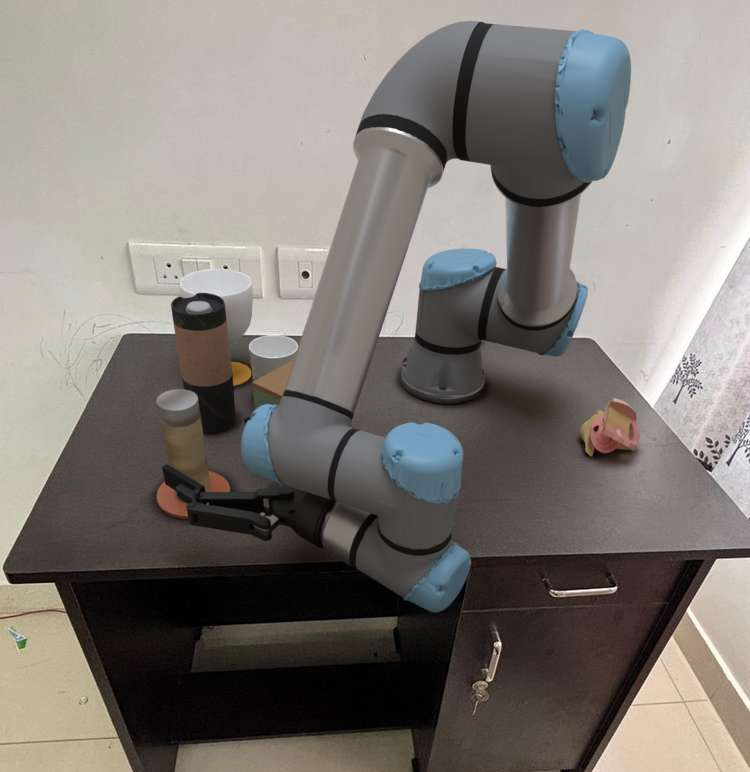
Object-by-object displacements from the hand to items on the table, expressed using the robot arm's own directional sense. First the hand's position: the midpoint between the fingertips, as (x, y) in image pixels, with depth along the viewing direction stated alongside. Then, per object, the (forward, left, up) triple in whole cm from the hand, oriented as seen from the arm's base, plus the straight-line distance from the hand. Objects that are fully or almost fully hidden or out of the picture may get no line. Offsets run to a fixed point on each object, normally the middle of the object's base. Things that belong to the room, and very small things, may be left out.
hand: (208, 448), depth 80 cm
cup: (-19, -31, -10) cm, 38 cm away
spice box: (-17, -3, -10) cm, 20 cm away
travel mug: (-10, -19, -10) cm, 24 cm away
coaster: (+1, -4, -10) cm, 11 cm away
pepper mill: (+3, -9, -7) cm, 12 cm away
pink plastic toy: (-58, +24, -10) cm, 63 cm away
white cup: (-22, -19, -10) cm, 31 cm away
